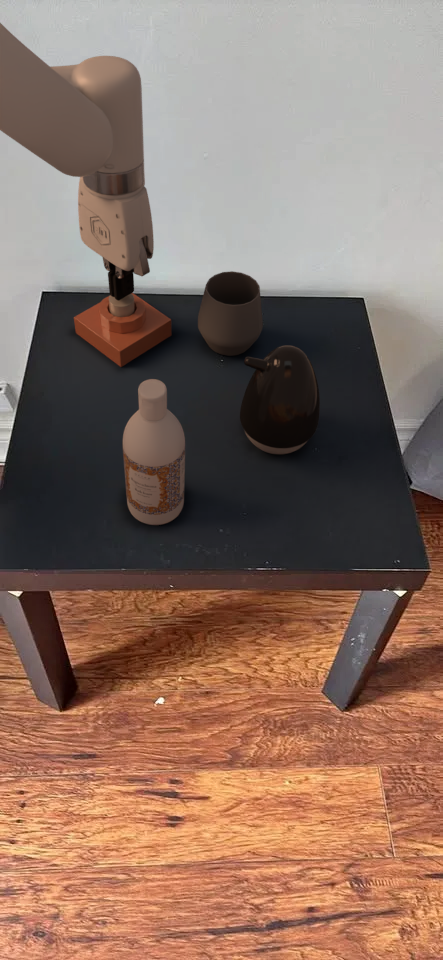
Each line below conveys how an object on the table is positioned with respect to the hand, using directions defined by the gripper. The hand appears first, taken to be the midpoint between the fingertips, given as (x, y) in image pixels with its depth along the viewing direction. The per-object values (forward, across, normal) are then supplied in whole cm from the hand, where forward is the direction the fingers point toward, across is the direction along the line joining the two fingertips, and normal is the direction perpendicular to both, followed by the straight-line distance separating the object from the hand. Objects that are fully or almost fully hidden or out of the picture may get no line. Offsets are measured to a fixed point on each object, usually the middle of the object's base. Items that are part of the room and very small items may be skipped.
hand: (122, 293), depth 105 cm
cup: (+8, +12, +10) cm, 17 cm away
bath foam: (+7, +26, -18) cm, 33 cm away
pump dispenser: (+8, +29, +1) cm, 30 cm away
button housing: (+7, 0, 0) cm, 7 cm away
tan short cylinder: (+3, 0, 0) cm, 3 cm away
